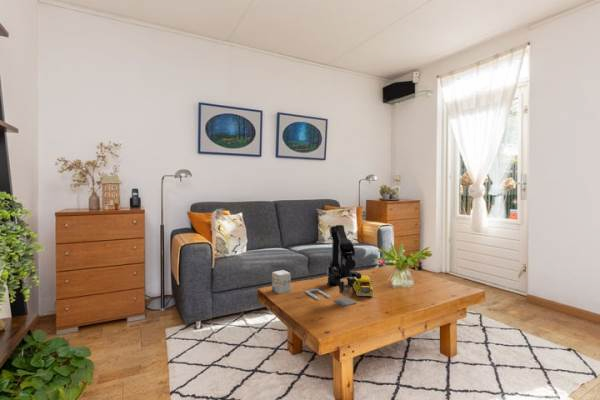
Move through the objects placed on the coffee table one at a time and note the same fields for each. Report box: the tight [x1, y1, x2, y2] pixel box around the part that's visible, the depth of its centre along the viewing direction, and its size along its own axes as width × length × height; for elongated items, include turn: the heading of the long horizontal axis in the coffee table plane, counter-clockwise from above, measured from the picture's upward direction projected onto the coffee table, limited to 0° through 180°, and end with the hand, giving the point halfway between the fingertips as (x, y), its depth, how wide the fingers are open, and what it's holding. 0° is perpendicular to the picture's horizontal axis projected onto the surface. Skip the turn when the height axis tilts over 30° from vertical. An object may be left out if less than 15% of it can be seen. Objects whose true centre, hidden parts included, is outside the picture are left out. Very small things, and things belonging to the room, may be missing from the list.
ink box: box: [271, 269, 292, 295], centre depth 196 cm, size 9×8×12 cm
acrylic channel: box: [305, 288, 330, 301], centre depth 189 cm, size 8×14×1 cm, turn 28°
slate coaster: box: [333, 296, 357, 307], centre depth 178 cm, size 9×9×1 cm
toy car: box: [352, 275, 374, 297], centre depth 197 cm, size 12×25×10 cm, turn 178°
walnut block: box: [338, 283, 353, 298], centre depth 177 cm, size 4×6×4 cm
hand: (345, 292), depth 178 cm, fingers closed on walnut block, 4 cm apart
